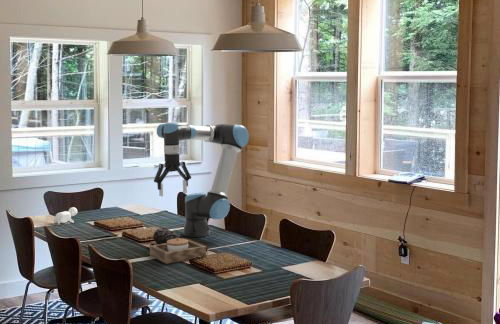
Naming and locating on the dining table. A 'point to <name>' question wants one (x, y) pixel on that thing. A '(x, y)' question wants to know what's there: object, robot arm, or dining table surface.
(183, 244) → the lidded jar
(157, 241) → the pine cone
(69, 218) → the white animal figurine
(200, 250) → the wooden tray
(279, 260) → the dining table surface
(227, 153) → the robot arm
